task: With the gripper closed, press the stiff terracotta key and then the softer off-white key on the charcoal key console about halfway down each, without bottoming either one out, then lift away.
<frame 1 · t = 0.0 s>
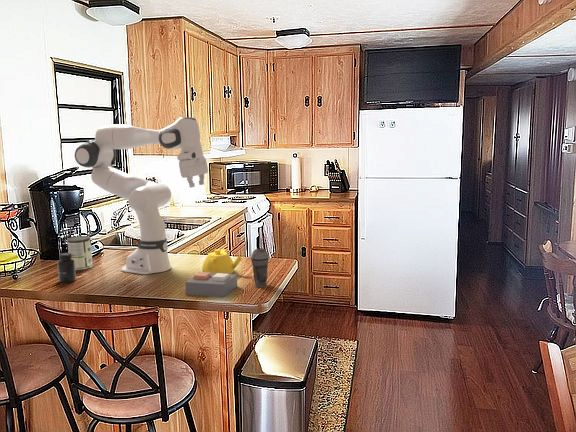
hand: (197, 186, 229), 39 cm above the table, tool pointing down, fingers open, 8 cm apart
beverage cup: (260, 286, 213), on the table
teapot: (223, 274, 232), on the table
white key: (220, 278, 206), point 5 cm above the table, slide at 0.0 cm
supplement bottle: (67, 281, 226), on the table
terracotta key: (202, 277, 209), point 5 cm above the table, slide at 0.0 cm
key console: (212, 290, 208), on the table
coffee can: (81, 267, 248), on the table
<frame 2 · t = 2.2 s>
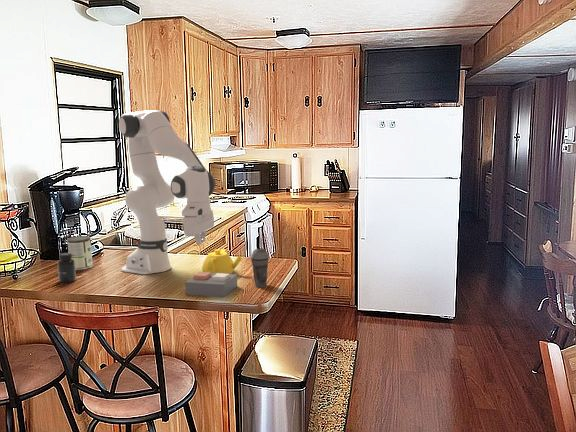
hand: (200, 243, 206), 19 cm above the table, tool pointing down, fingers closed
nothing on the table moved.
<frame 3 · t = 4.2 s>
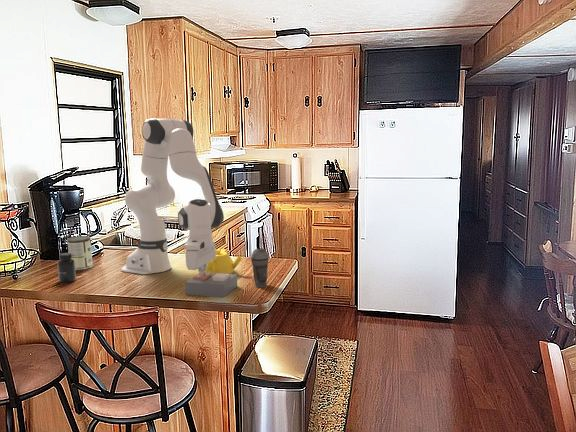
hand: (202, 275, 208), 6 cm above the table, tool pointing down, fingers closed, pressing on terracotta key
terracotta key: (202, 278, 209), point 5 cm above the table, slide at 0.5 cm, touching gripper
everything else where it was.
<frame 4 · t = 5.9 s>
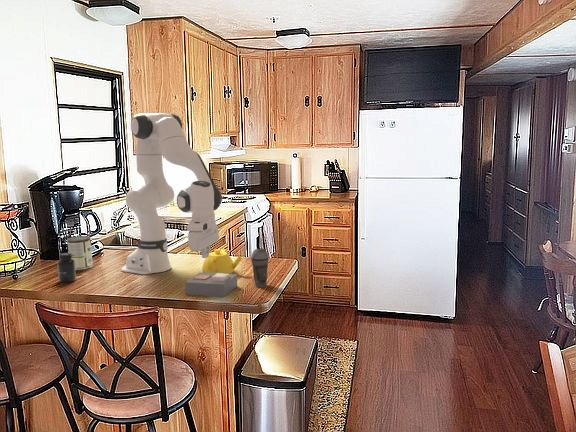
hand: (205, 257, 206), 13 cm above the table, tool pointing down, fingers closed
terracotta key: (202, 279, 209), point 4 cm above the table, slide at 1.2 cm
everything else where it was.
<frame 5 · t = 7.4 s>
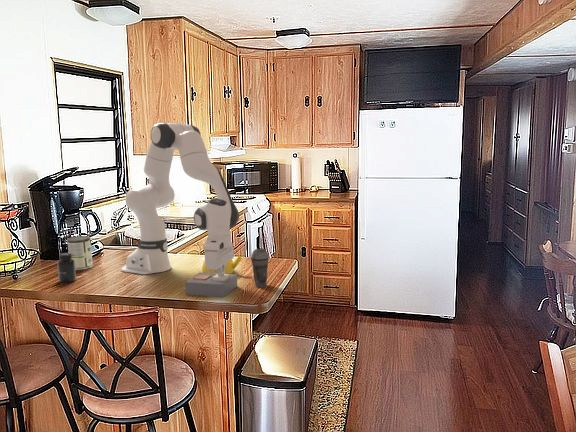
hand: (221, 275, 206), 6 cm above the table, tool pointing down, fingers closed, pressing on white key
white key: (221, 278, 207), point 5 cm above the table, slide at 0.3 cm, touching gripper
everything else where it was.
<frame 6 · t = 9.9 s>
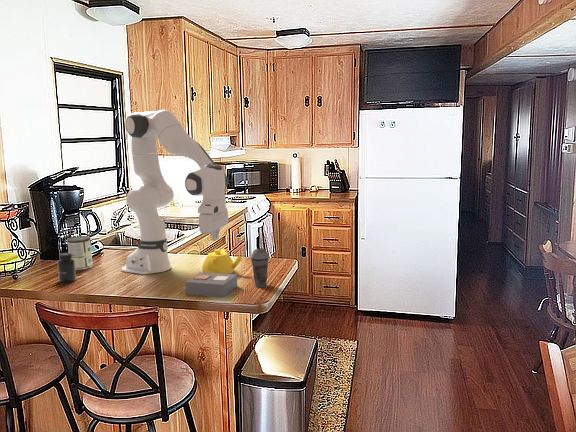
hand: (215, 240, 207), 20 cm above the table, tool pointing down, fingers closed
white key: (221, 281, 207), point 4 cm above the table, slide at 1.2 cm
everything else where it was.
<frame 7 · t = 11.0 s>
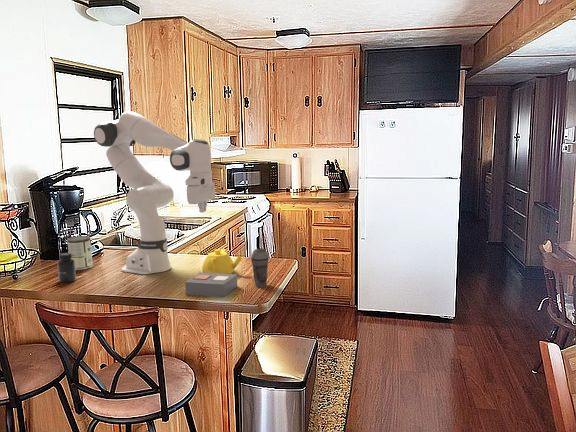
hand: (202, 212, 219), 29 cm above the table, tool pointing down, fingers closed
nothing on the table moved.
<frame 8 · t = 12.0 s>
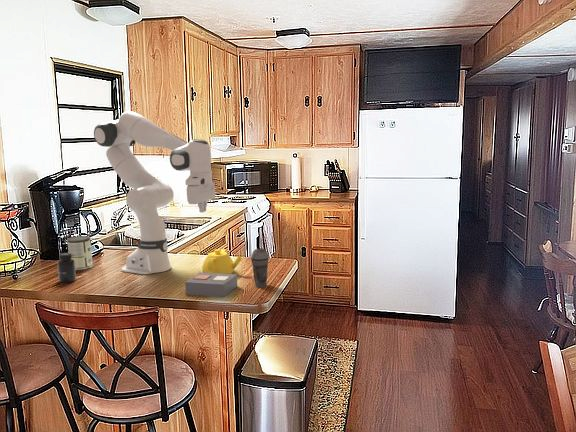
hand: (202, 211, 219), 29 cm above the table, tool pointing down, fingers closed
nothing on the table moved.
at the end: terracotta key slide at 1.2 cm; white key slide at 1.2 cm; beverage cup moved 0.2 cm from its start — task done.
